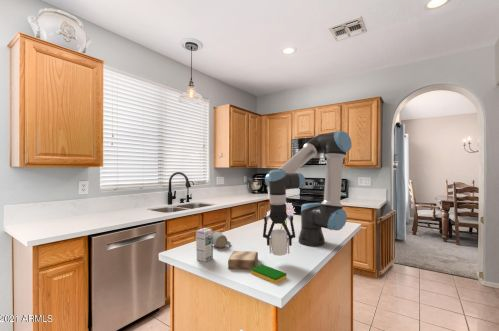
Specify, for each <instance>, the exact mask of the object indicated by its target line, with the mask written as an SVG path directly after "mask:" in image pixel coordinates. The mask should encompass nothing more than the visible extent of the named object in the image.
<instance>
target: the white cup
mask: <svg viewBox="0 0 499 331" xmlns="http://www.w3.org/2000/svg"><path fill="white" fill-rule="evenodd" d="M270 238H271V249H272V252H271V254H273V255H274V256H277V257H278V256H281V257H282V256H285V255H287V254H288V245H287V238H288V235H287V233H286V231H285V229H273V230H272V232H271V235H270Z"/></svg>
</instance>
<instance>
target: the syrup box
mask: <svg viewBox="0 0 499 331" xmlns="http://www.w3.org/2000/svg"><path fill="white" fill-rule="evenodd" d="M212 234H213V229H212V228H208V227H203V228H200V229H197V230H196V232H195V242H196V243H195V244H196V246H195V248H196V250H195V251H196V260H197V261H199V260H200V261H201V262H204V263H206V262H207V261H210V260H211V259H213V258H214V253H213V252H214V251H213V250H214V244H213V239H212Z"/></svg>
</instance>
